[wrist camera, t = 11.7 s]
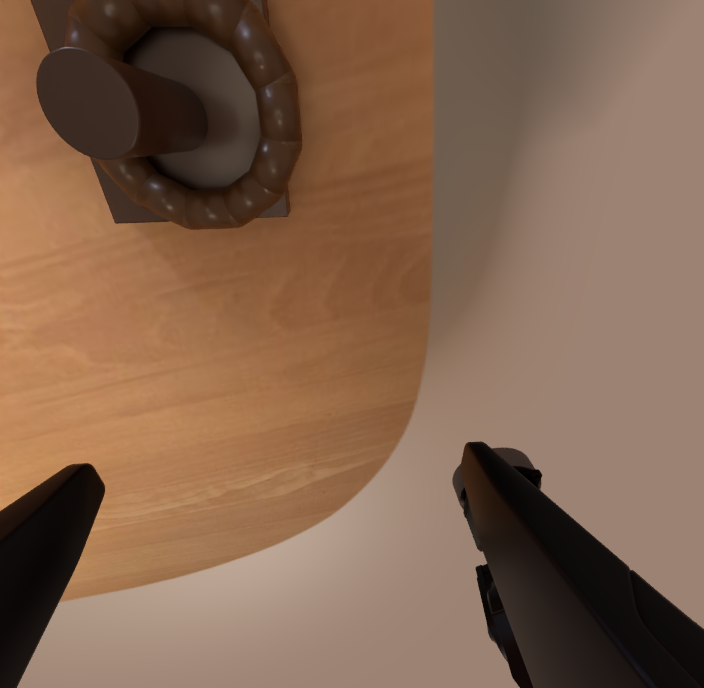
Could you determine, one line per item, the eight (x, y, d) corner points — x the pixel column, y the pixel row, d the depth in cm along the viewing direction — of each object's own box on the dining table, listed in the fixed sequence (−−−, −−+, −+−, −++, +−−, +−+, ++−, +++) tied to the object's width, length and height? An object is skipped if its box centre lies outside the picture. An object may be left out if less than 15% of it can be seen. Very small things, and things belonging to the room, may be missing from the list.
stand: (265, -11, 13) (209, -145, 7) (290, 211, 17) (271, 255, 11) (46, -9, 12) (-223, -146, 6) (127, 218, 17) (13, 266, 11)
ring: (288, -32, 12) (283, -53, 10) (310, 221, 16) (308, 228, 15) (37, -30, 11) (-2, -53, 10) (129, 227, 16) (111, 236, 14)
